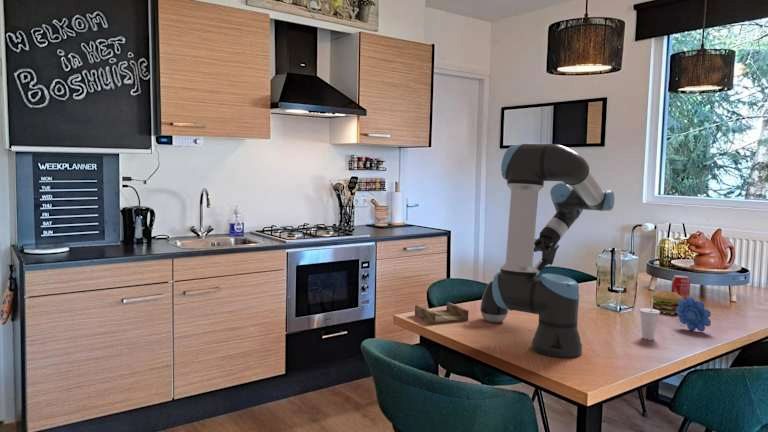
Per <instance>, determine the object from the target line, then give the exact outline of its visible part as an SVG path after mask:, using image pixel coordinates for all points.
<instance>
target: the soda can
mask: <svg viewBox="0 0 768 432" xmlns="http://www.w3.org/2000/svg"><path fill="white" fill-rule="evenodd" d="M671 281H672V282H671V291H670V292H673V293H676V294H678V295H680V296H681V297H682V299H683V300H685V301H686V299H687V298H688V297H690V293H691V280H690V277H689V276H688V275H682V274H681V275H680V274H674V275H673V278H672V279H671Z"/></svg>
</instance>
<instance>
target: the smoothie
mask: <svg viewBox="0 0 768 432" xmlns="http://www.w3.org/2000/svg"><path fill="white" fill-rule="evenodd" d="M650 300H651V306H650V308H643V307H642V308H640V309H639V313H640V326H641V339H643V338H644V340H647V339H648V340H649V341H653V339H654V340H655V335H656V332H657V326H658V321H659V317H660V315H661V312H660V311H658V310H655V309H653V298H651V297H650Z"/></svg>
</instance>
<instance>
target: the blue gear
mask: <svg viewBox="0 0 768 432" xmlns="http://www.w3.org/2000/svg"><path fill="white" fill-rule="evenodd" d="M679 305H680V307H677V308H676V312H677V314H676V315H679V318H678V321H679V322H680V323H681V324H683V325H686V327H687V329H688V330H689V331H695V330H697V331H699V332H704V331H705V329H706V327H710V326H711V325H712V323H711V322H712V321H711V320H710V317H711V316H712V315H711V312H710V310H709V309H707V308H705V303H704V302H703V301H701V300H697V301H696V299H694V298H693V297H691V296H689V297H688V298H687V299H686V301H685V300H683V299H681V300H680V301H679Z"/></svg>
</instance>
